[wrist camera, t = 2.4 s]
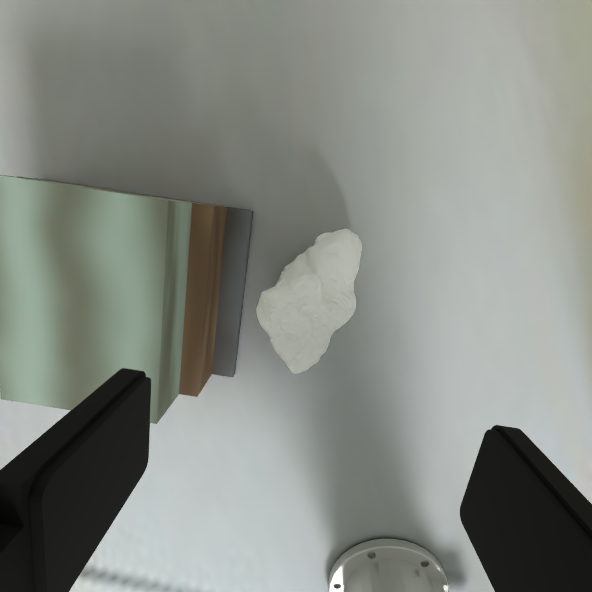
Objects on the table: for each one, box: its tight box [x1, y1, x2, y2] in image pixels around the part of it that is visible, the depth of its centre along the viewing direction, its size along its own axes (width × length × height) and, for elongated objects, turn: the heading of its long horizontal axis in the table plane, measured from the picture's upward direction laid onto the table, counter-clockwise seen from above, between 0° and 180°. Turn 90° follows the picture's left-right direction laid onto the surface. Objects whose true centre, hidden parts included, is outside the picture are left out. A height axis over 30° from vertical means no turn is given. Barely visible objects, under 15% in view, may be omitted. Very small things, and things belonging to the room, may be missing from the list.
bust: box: [256, 229, 362, 374], centre depth 25 cm, size 12×8×11 cm
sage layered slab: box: [0, 175, 253, 424], centre depth 26 cm, size 18×15×9 cm
